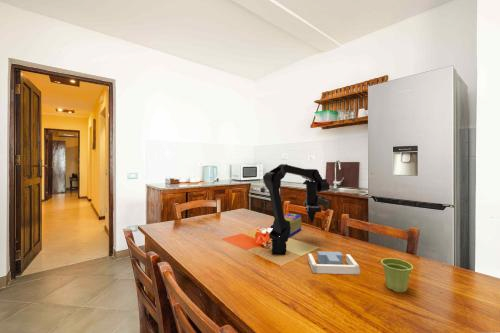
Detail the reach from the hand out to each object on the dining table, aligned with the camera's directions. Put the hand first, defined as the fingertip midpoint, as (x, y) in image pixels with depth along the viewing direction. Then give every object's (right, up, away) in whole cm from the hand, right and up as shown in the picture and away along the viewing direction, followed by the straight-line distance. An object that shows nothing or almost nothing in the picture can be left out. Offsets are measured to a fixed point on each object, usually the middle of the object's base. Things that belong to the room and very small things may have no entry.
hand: (311, 222), depth 128 cm
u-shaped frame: (+2, -13, -26) cm, 29 cm away
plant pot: (+18, -13, -43) cm, 49 cm away
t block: (+2, -13, -25) cm, 28 cm away
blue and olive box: (-10, -12, +21) cm, 26 cm away
